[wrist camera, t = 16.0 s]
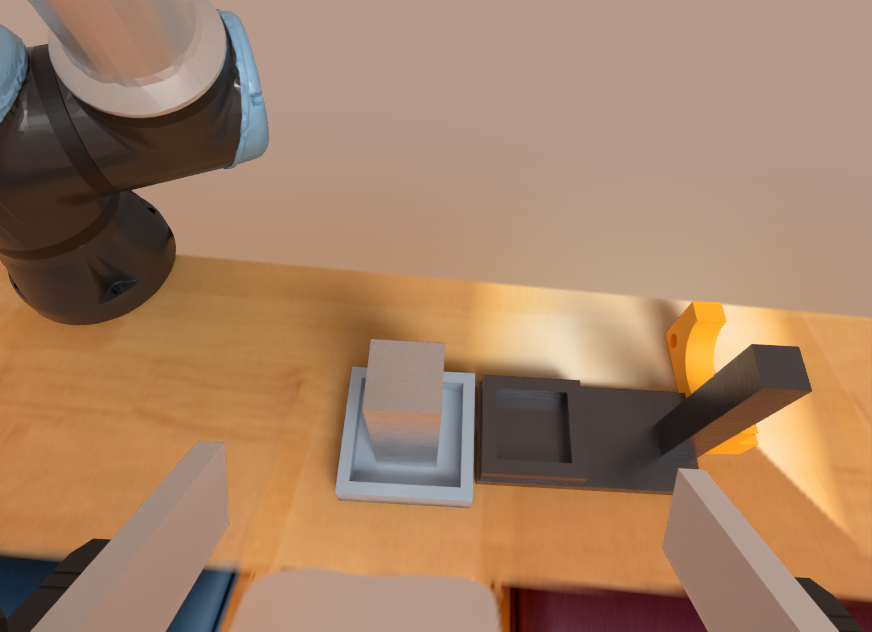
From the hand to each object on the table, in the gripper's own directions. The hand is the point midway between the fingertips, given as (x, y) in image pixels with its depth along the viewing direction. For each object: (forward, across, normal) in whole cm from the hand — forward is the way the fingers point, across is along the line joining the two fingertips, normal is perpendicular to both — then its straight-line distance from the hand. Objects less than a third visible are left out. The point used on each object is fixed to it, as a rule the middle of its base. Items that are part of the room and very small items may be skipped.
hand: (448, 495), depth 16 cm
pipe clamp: (+35, +25, -11) cm, 44 cm away
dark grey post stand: (+31, +13, -14) cm, 36 cm away
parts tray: (+30, -2, -15) cm, 34 cm away
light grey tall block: (+29, -2, -14) cm, 33 cm away
